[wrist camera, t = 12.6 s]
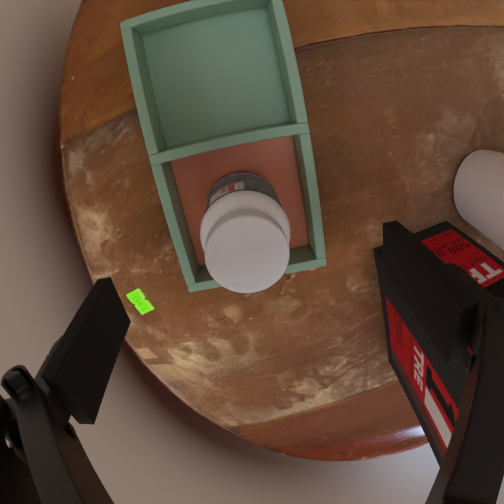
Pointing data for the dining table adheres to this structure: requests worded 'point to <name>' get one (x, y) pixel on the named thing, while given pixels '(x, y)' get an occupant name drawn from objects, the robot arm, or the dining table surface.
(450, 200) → the dining table surface
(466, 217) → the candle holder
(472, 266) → the cleaning product box
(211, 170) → the divided tray
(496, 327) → the robot arm
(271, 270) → the pill bottle
